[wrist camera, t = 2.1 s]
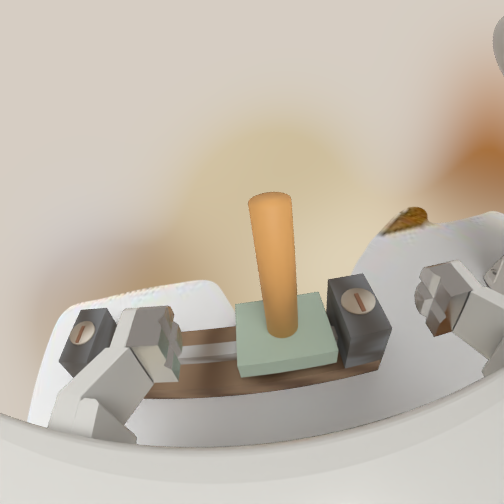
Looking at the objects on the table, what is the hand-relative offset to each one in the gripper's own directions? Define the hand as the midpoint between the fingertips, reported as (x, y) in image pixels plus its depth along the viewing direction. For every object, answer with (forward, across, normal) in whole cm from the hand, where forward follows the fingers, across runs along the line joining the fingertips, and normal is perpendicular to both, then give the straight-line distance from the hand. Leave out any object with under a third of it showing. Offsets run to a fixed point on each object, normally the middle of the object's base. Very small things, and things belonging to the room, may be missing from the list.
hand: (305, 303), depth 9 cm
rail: (+12, +7, +20) cm, 25 cm away
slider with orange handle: (+12, 0, +17) cm, 21 cm away
